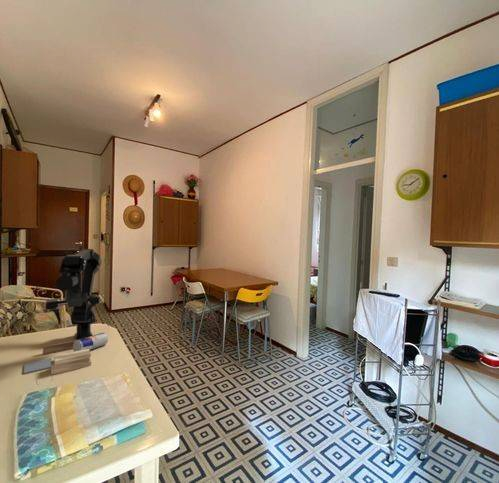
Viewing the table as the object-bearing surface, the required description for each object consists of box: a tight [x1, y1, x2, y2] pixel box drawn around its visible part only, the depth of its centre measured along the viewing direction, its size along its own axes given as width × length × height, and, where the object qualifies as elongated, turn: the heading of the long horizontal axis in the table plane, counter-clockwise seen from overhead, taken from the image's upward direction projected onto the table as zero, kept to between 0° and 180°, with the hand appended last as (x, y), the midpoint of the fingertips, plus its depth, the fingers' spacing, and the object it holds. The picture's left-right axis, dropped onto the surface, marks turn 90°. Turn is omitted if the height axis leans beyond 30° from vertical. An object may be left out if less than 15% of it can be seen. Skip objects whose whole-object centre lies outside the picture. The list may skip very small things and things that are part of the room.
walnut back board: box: [42, 338, 82, 355], centre depth 113 cm, size 1×16×3 cm, turn 129°
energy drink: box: [72, 332, 109, 352], centre depth 114 cm, size 5×5×12 cm
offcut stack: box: [50, 349, 92, 376], centre depth 99 cm, size 5×12×4 cm, turn 129°
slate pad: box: [23, 357, 53, 375], centre depth 98 cm, size 8×8×1 cm
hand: (73, 321), depth 113 cm, fingers open, 9 cm apart
